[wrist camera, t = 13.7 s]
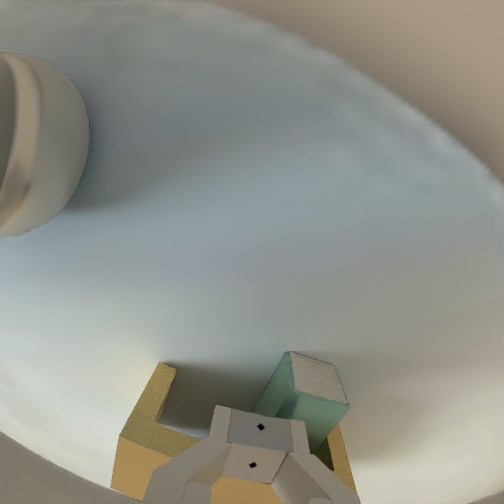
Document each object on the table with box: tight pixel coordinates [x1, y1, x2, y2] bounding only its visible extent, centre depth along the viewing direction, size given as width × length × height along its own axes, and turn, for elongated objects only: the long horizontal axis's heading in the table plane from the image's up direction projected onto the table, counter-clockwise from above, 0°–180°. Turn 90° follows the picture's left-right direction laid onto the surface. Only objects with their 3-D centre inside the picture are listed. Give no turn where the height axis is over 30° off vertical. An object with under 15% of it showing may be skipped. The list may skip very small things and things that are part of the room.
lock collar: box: [110, 362, 357, 504], centre depth 10 cm, size 4×8×5 cm, turn 68°
